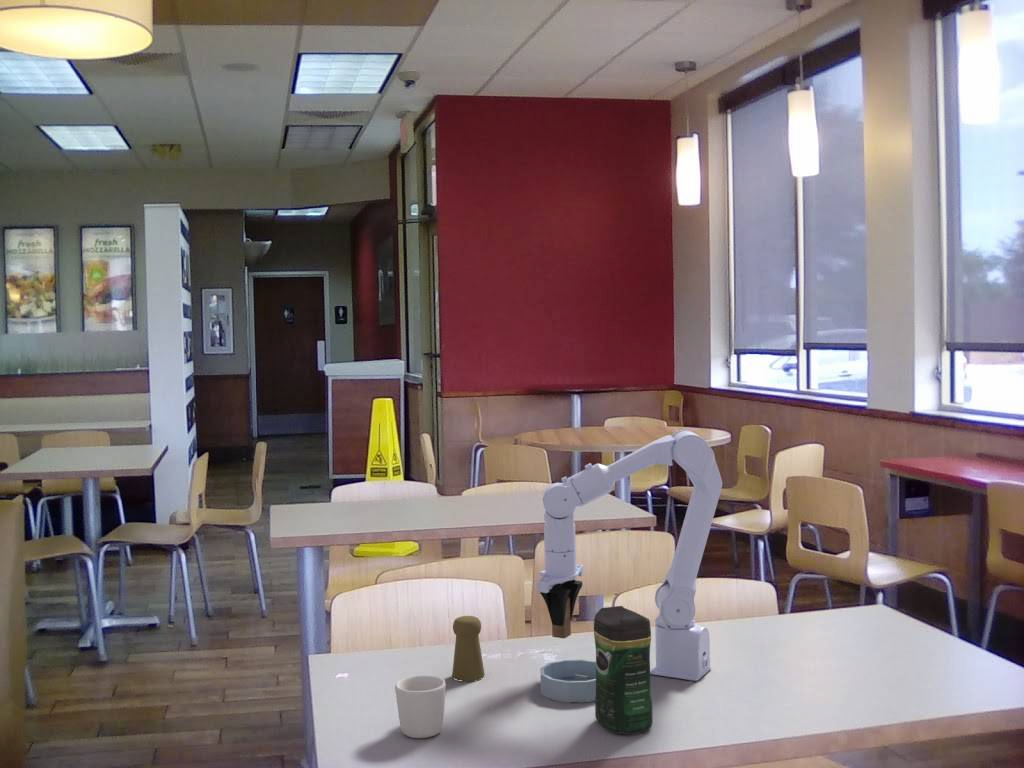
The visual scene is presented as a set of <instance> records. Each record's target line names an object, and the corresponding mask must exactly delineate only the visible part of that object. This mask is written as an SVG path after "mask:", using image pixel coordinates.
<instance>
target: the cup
mask: <svg viewBox="0 0 1024 768" xmlns="http://www.w3.org/2000/svg"><path fill="white" fill-rule="evenodd" d="M394 687H395V688H394V690H395V695H396V696H395V697H396V707H397V710H398V712H397V713H398V719H399V726H400V729H401V732H402V733H403V734H404V735H405V736H407V737H410V738H413V739H426V738H431V737H434V736H436V735H437V734H439V733H440V732H441V730H442V728H443V724H444V713H445V703H446V702H445V701H446V687H447V683H446V681H445V679H443V678H441V677H439V676H435V675H429V674H428V675H426V674H425V675H412V676H408V677H405V678H402V679H400V680H398V681H397V682H396V683H395V686H394Z"/></svg>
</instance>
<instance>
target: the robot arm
mask: <svg viewBox="0 0 1024 768" xmlns="http://www.w3.org/2000/svg"><path fill="white" fill-rule="evenodd" d="M673 461H674V462H675V463H677V465H679V467H681V468H682V469H683V470H684V471H685V474H686V475H687V477H688V478H689V480H690V481H691V483H692V485H693V486H692V487H693V489H692V491H691V495H690V499H689V501H688V504H687V505H688V506H687V509H686V512H685V517H684V518H683V519H684V520H683V524H682V526H681V530H680V533H679V536H678V537H679V538H678V541H677V545H676V548H675V551H674V555H673V559H672V562H671V565H670V568H669V569H668V570H667V573H666V575H665V578H664V580H663V582H662V583H661V585H659V587H658V588H657V589H656V592H655V595H654V601H655V604H656V607H657V608H658V609H659V614H658V616H657V617H656V618H655V620H654V622H655V625H654V626H655V628H654V629H655V665H654V666H652V667H650V675H654V676H662V677H668V678H674V679H680V680H681V679H682V680H688V681H695V682H697V681H699V680H700V679H701V678H702V677H704V675H706V674H707V673H708V672H709V671H710V670H712V666H711V658H710V657H711V656H710V655H711V652H710V650H711V648H710V644H711V643H710V633H709V629H708V628H707V627H706V626H701V625H699V624H697V623H696V620H695V615H696V604H695V596H696V592H697V577H698V573H699V569H700V567H701V562H702V559H703V555H704V552H705V547H706V545H707V541H708V538H709V534H710V531H711V527H712V523H713V519H714V516H715V513H716V510H717V506H718V503H719V499H720V496H721V492H722V488H723V480H722V476H721V474H720V469H719V467H718V463H717V460H716V456H715V452H714V450H713V449H712V448H711V446H710V445H709V444H708V442H707V441H706V440H705V439H704V438H703V437H701V436H700V435H698V434H697V433H695V432H693V431H692V430H689V429H681V430H678V431H676V432H674V433H673V434H672V435H671V434H669V435H665V436H662V437H660V438H657V439H656V440H653V441H651V442H650V443H647V444H646V445H644V446H642V447H640V448H638V449H636V450H634V451H633V452H631V453H629V454H627V455H625V456H624V457H621V458H620V459H618V460H616V461H615V462H613V463H611V464H608V465H604V464H603V463H602V464H601V463H599V462H598V463H596V464H593V465H592V463H590V462H589V463H587V464H586V465H584V469H583V470H581V471H579V472H577V473H575V474H573V475H571V476H569V477H567V476H564V477H561V482H555V483H551V484H550V485H549V486H547V487H546V488H545V490H544V493H543V497H542V503H543V507H544V509H545V512H544V518H543V520H544V524H543V538H544V539H543V540H544V541H543V542H544V570H543V569H542V570H541V571H539V576H540V577H541V578H540V579H539V580H537V581H536V592H537V593H539V594H540V595H541V596H542V599H543V600H544V602H545V605H546V608H547V610H548V614H549V618H550V621H551V626H552V625H558V626H563V625H564V621H565V611H566V603H567V599H568V597H570V622H571V621H572V619H573V614H574V610H575V606H576V602H577V598H578V595H579V593H580V591H581V590H582V587H583V581H582V580H576V579H577V578H578V577H583V576H584V565H583V564H577V549H576V546H577V545H576V542H577V541H576V524H575V522H574V521H575V520H574V518H575V517H574V512H575V510H576V507H583V506H585V505H587V504H589V503H591V502H594V501H596V500H597V499H600V498H601V497H603V496H605V495H607V494H610V493H612V491H613V489H614V485H615V483H616V482H618V481H620V480H622V479H624V478H627V477H630V476H631V475H633V474H636V473H638V472H640V471H642V470H645V469H647V468H650V467H652V466H653V465H661V466H669V467H672V466H673Z"/></svg>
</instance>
